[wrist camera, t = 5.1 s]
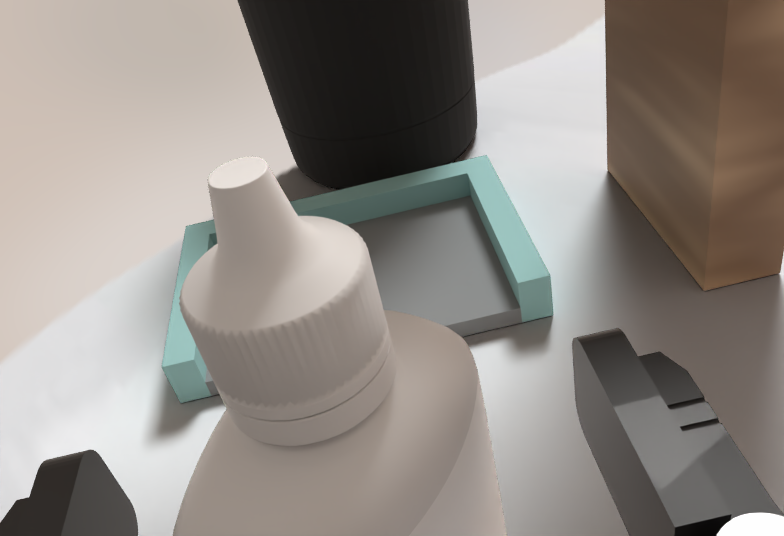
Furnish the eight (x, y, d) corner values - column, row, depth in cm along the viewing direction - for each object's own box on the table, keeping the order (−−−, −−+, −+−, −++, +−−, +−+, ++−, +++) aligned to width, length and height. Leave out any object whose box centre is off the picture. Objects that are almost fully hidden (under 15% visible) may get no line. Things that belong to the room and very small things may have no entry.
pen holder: (413, 83, 39) (376, -121, 34) (530, 134, 33) (509, -112, 27) (257, 153, 36) (186, -59, 30) (350, 226, 29) (281, -30, 24)
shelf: (80, 449, 22) (-473, -360, 11) (127, 275, 30) (-178, -319, 18) (789, 282, 22) (958, -702, 11) (661, 149, 29) (684, -525, 18)
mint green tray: (180, 402, 23) (161, 366, 22) (200, 258, 30) (185, 226, 29) (553, 314, 23) (550, 275, 22) (491, 189, 29) (486, 155, 29)
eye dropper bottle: (591, 682, 15) (560, 145, 7) (339, 864, 13) (-6, 404, 6) (471, 522, 18) (370, 45, 11) (258, 652, 16) (-24, 194, 9)
